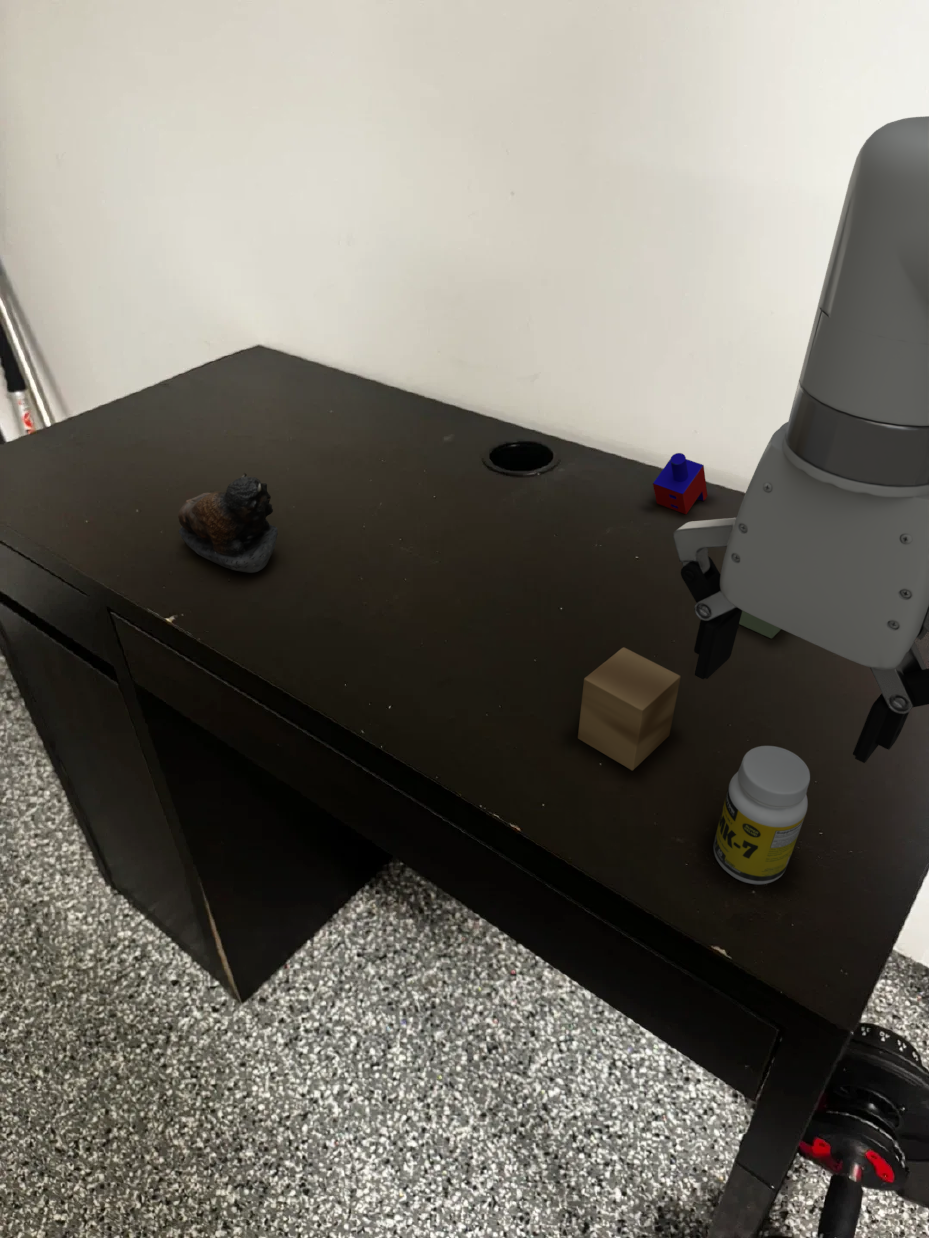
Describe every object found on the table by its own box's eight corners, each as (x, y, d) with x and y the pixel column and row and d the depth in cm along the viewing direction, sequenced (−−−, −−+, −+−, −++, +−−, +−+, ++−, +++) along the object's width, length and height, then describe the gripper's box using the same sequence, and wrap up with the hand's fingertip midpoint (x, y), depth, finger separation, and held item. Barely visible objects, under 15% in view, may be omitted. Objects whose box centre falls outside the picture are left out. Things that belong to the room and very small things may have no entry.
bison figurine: (167, 550, 89) (146, 458, 83) (224, 522, 93) (208, 433, 87) (244, 595, 83) (227, 499, 77) (301, 563, 87) (289, 470, 81)
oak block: (615, 705, 71) (623, 646, 67) (669, 735, 68) (681, 675, 64) (577, 738, 68) (583, 678, 64) (632, 771, 65) (642, 710, 61)
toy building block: (658, 513, 98) (649, 466, 91) (678, 485, 99) (670, 437, 92) (687, 524, 96) (679, 477, 89) (707, 495, 97) (701, 447, 91)
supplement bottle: (697, 842, 60) (719, 753, 55) (753, 819, 61) (779, 730, 56) (744, 897, 56) (771, 808, 51) (802, 871, 58) (834, 782, 53)
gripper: (1107, 464, 38) (965, 745, 49) (743, 357, 47) (689, 613, 58) (1058, 530, 34) (913, 825, 44) (667, 399, 43) (623, 668, 53)
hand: (786, 705), depth 51 cm, fingers open, 9 cm apart
